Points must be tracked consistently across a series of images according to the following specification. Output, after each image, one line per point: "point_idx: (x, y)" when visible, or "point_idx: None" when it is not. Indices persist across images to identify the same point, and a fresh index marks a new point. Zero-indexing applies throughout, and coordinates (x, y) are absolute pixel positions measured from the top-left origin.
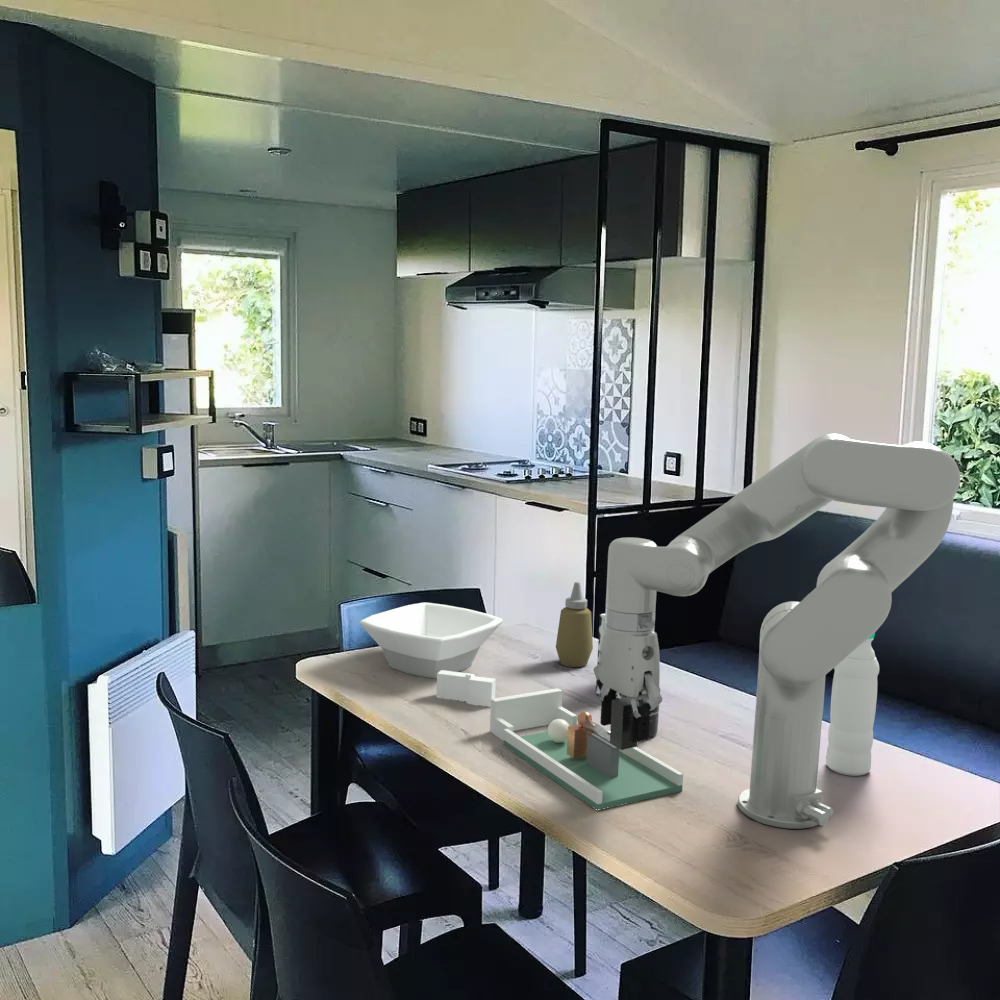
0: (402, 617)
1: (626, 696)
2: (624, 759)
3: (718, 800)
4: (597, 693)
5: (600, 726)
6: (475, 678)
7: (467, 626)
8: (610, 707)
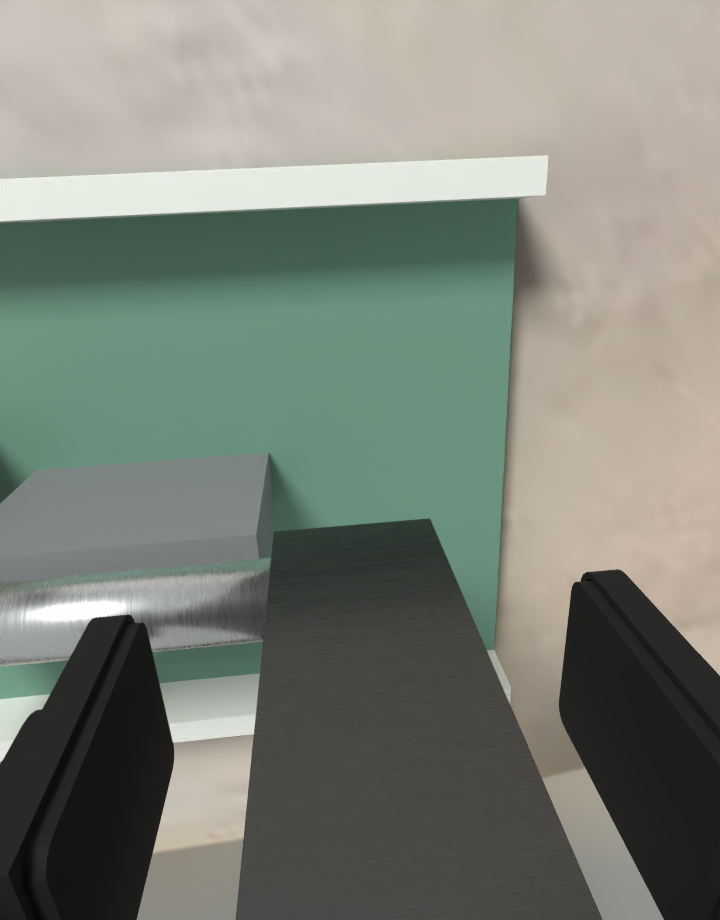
0: None
1: None
2: (44, 282)
3: (707, 28)
4: None
5: (11, 643)
6: None
7: None
8: (110, 878)
